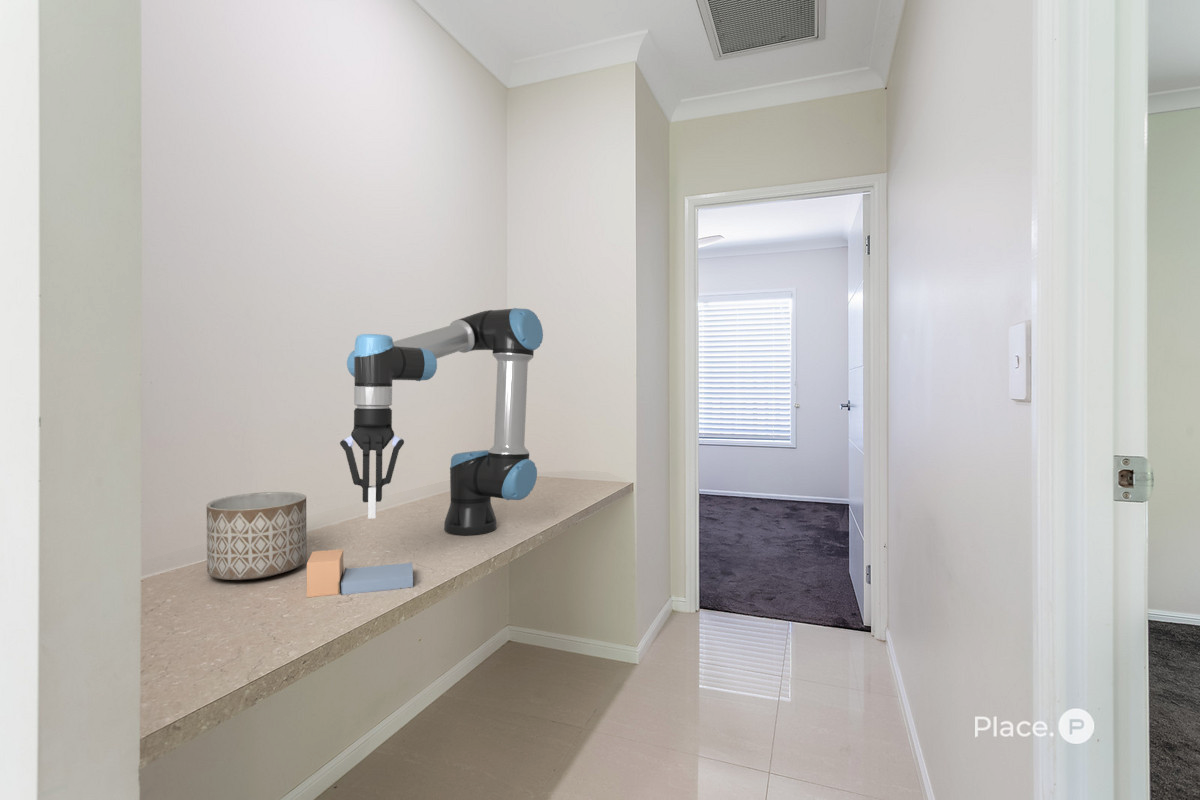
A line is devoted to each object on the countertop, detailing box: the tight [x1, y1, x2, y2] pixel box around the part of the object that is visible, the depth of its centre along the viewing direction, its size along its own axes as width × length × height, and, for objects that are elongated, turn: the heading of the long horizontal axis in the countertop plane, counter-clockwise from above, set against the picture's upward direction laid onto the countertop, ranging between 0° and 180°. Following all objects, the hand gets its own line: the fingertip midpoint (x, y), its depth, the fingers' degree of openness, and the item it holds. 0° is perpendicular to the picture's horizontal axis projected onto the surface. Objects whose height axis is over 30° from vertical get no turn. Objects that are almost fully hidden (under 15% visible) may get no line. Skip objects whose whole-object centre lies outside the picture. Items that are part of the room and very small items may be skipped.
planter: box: [206, 491, 308, 581], centre depth 128 cm, size 19×19×16 cm
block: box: [306, 548, 344, 598], centre depth 118 cm, size 6×8×7 cm
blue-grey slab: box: [340, 562, 414, 596], centre depth 122 cm, size 14×9×3 cm, turn 109°
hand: (372, 516), depth 121 cm, fingers closed
